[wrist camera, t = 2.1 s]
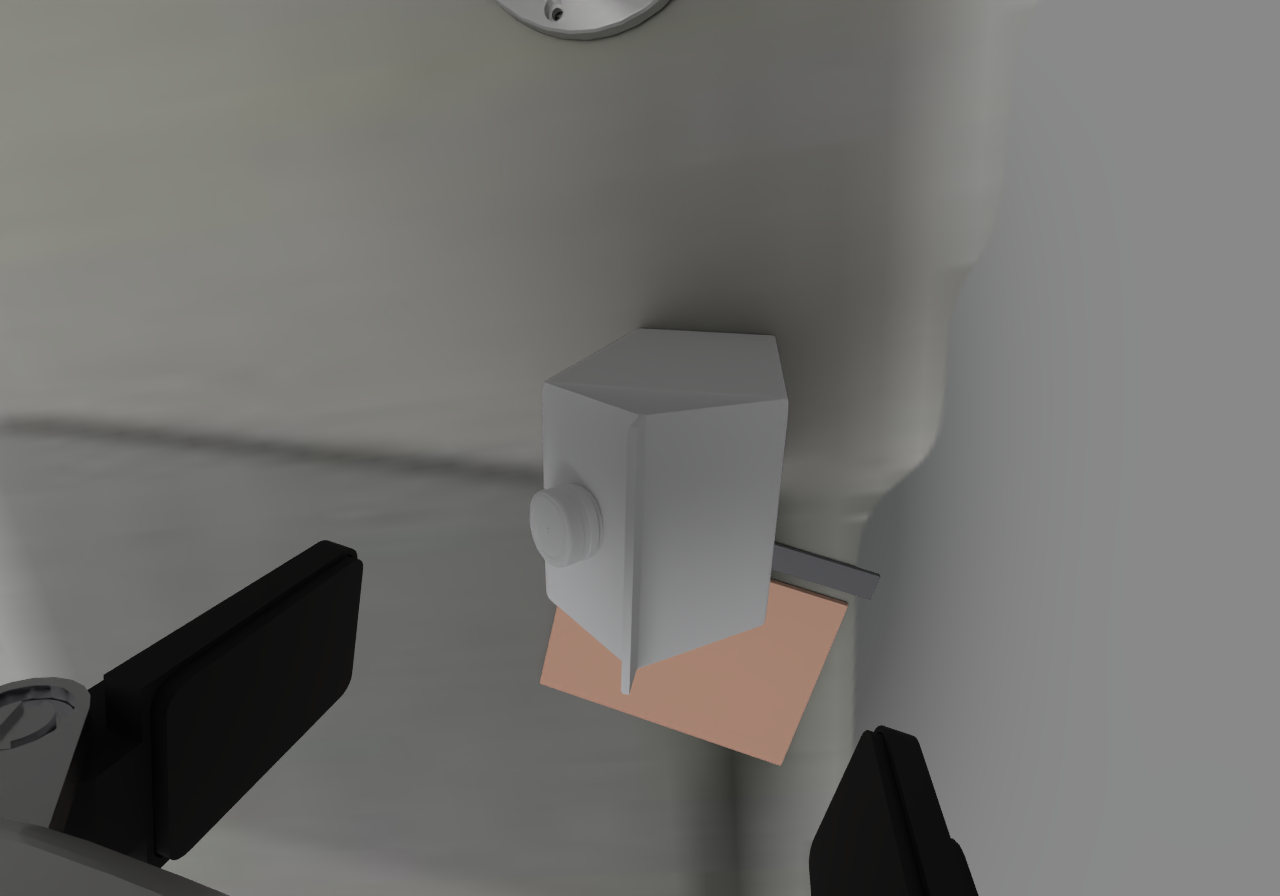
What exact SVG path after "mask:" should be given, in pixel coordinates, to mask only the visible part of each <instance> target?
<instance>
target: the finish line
mask: <svg viewBox="0 0 1280 896" xmlns="http://www.w3.org/2000/svg"><path fill="white" fill-rule="evenodd" d="M771 569H772V570H776V571H779V572H782V573H785V574H789V575H792V576H795V577H798V578H802V579H805V580H808V581H811V582H815V583H818V584H821V585H824V586H828V587H831V588H834V589H837V590H841V591H844V592H847V593H850V594H853V595H857V596H860V597H863V598H867V599H871V597H872V595H873V593H874V590H875V588H876V586H877V583H878V581H879V579H880V575H879V574H877V573H874V572H871V571H867V570H864V569H861V568H858V567H854V566H851V565H848V564H844V563H841V562H838V561H835V560H831V559H828V558H825V557H821V556H818V555H815V554H811V553H808V552H805V551H802V550H798V549H795V548H792V547H788V546H785V545H782V544H779V543H775V542H774V549H773V558H772V568H771Z"/></svg>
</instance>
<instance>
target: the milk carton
mask: <svg viewBox="0 0 1280 896" xmlns="http://www.w3.org/2000/svg"><path fill="white" fill-rule="evenodd" d="M787 419H788V397H787V393H786V388H785V383H784V378H783V373H782V368H781V363H780V358H779V354H778V349H777V344H776V339H775V336H773V335H756V334H737V333H718V332H699V331H680V330H661V329H642V328H639V329H636V330H634V331H632V332H631V333H629V334H627V335H625V336H624V337H622V338H620V339H618V340H617V341H615V342H613V343H611V344H609V345H608V346H606V347H604V348H602V349H601V350H599V351H597V352H595V353H594V354H592V355H590V356H588V357H586V358H585V359H583V360H581V361H579V362H578V363H576V364H574V365H572V366H571V367H569V368H567V369H565V370H563V371H562V372H560V373H558V374H556V375H555V376H553V377H551V378H550V379H548V380H547V381H545V382H544V384H543V469H544V490H541V491H538V492H537V493H536V494H535V495H534V496H533V498H532V501H531V505H530V526H531V532H532V536H533V539H534V542H535V545H536V547H537V549H538V551H539V552H540V554H541V555H542V557H543V558H544V559H545V570H546V589H547V595H548V598H549V599H550V600H551V601H552V602H553V603H555V604H556V605H557V606H558V607H559V608H560V609H562V610H563V611H564V612H565V613H566V614H567V615H569V616H570V617H571V618H572V619H573V620H574V621H576V622H577V623H578V624H579V625H580V626H581V627H583V628H584V629H585V630H586V631H587V632H588V633H590V634H591V635H592V636H593V637H594V638H595V639H597V640H598V641H599V642H600V643H601V644H602V645H603V646H605V647H606V648H607V649H608V650H609V651H610V652H612V653H613V654H614V655H615V656H616V657H617V658H619V659H620V660H621V661H622V670H621V692H622V694H626V695H629V693H630V690H631V687H632V683H633V680H634V677H635V673H636V670H637V669H639V668H642V667H645V666H648V665H650V664H653V663H656V662H659V661H662V660H665V659H668V658H670V657H673V656H676V655H679V654H682V653H685V652H687V651H690V650H693V649H696V648H699V647H702V646H705V645H707V644H710V643H713V642H716V641H719V640H722V639H725V638H727V637H730V636H733V635H736V634H739V633H742V632H745V631H747V630H750V629H753V628H756V627H759V626H761V625H763V624H764V622H765V618H766V612H767V604H768V595H769V586H770V577H771V568H772V558H773V549H774V540H775V531H776V522H777V512H778V503H779V494H780V485H781V476H782V466H783V457H784V448H785V439H786V429H787Z"/></svg>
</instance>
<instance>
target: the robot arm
mask: <svg viewBox="0 0 1280 896" xmlns="http://www.w3.org/2000/svg"><path fill="white" fill-rule="evenodd" d="M669 1H670V0H495V2H496V3H498V4H499V5H500V6H501V7H502V8H503V9H505V10H506V11H507V12H508V13H509V14H510V15H512V16H513V17H514V18H515V19H516V20H518V21H520V22H522V23H523V24H525V25H527V26H529V27H531V28H533V29H534V30H536V31H538V32H541V33H544V34H548V35H551V36H555V37H558V38H562V39H579V40H590V39H596V38H601V37H607V36H613V35H615V34H618V33H620V32H622V31H625V30H627V29H630V28H632V27H634V26H637V25H639V24H640V23H641V22H643V21H644V20H646V19H647V18H649V17H650V16H652V15H653V14H655V13H656V12H658V11H659V10H661V9H662V8H663V7H664V6H665V5H666V4H667V3H668V2H669ZM558 12H563V14H562V16H561V18H560V19H559V20H558V21H555V16H556V14H557V13H558ZM362 574H363V563H362V561H361V560H359V559H357V553H356V551H355V550H354V549H352V548H349V547H346V546H343V545H340V544H337V543H334V542H331V541H328V540H323V541H320V542H318V543H317V544H315V545H313V546H312V547H310V548H309V549H307V550H305V551H304V552H302V553H300V554H299V555H297V556H296V557H294V558H292V559H291V560H289V561H287V562H286V563H284V564H283V565H281V566H279V567H278V568H276V569H275V570H273V571H271V572H270V573H268V574H266V575H265V576H263V577H262V578H260V579H258V580H257V581H255V582H253V583H252V584H250V585H249V586H247V587H245V588H244V589H242V590H241V591H239V592H237V593H236V594H234V595H232V596H231V597H229V598H228V599H226V600H224V601H223V602H221V603H219V604H218V605H216V606H215V607H213V608H211V609H210V610H208V611H206V612H205V613H203V614H202V615H200V616H198V617H197V618H195V619H194V620H192V621H190V622H189V623H187V624H185V625H184V626H182V627H181V628H179V629H177V630H176V631H174V632H172V633H171V634H169V635H168V636H166V637H164V638H163V639H161V640H160V641H158V642H156V643H155V644H153V645H151V646H150V647H148V648H147V649H145V650H143V651H142V652H140V653H138V654H137V655H135V656H134V657H132V658H130V659H129V660H127V661H126V662H124V663H122V664H121V665H119V666H117V667H116V668H114V669H113V670H111V671H109V672H108V673H106V674H104V680H103V681H101V682H100V683H98V684H96V685H95V686H93V687H92V688H90V689H88V690H87V689H86V688H85V686H83V685H81V684H79V683H77V682H75V681H73V680H70V679H63V678H57V677H47V678H31V679H26V680H21V681H16V682H11V683H8V684H5V685H2V686H0V896H229V895H226V894H224V893H222V892H219V891H217V890H214V889H212V888H209V887H207V886H204V885H202V884H199V883H197V882H194V881H192V880H189V879H187V878H184V877H182V876H179V875H177V874H174V873H171V872H169V871H166V870H163V869H161V867H162V866H163V865H164V864H165V863H166V862H167V861H168V860H169V859H171V860H177V859H179V858H181V857H183V856H184V855H185V854H186V853H187V852H189V851H190V850H191V849H192V848H193V847H194V846H195V845H196V844H197V843H198V841H199V840H200V839H201V838H202V837H203V836H204V835H205V834H206V833H207V832H208V831H209V830H210V829H211V828H212V827H213V826H214V825H215V824H216V823H217V822H218V821H219V820H220V819H221V818H222V817H223V816H224V815H225V814H226V813H227V812H228V811H229V810H230V809H231V808H232V807H233V806H234V805H235V804H236V803H237V802H238V801H239V800H240V799H241V798H242V797H243V796H244V795H245V794H246V793H247V792H248V791H249V790H250V789H251V788H252V787H253V786H254V785H255V784H256V782H257V781H258V780H259V779H260V778H261V777H262V776H263V775H264V774H265V773H266V772H267V771H268V770H269V769H270V768H271V767H272V766H273V765H274V764H275V763H276V762H277V761H278V760H279V759H280V758H281V757H282V756H283V755H284V754H285V753H286V752H287V751H288V750H289V749H290V748H291V747H292V746H293V745H294V744H295V743H296V742H297V741H298V740H299V739H300V738H301V737H302V736H303V735H304V734H305V733H306V732H307V731H308V730H309V729H310V728H311V727H312V726H313V725H314V724H315V722H316V721H317V720H318V719H319V718H320V717H321V716H322V715H323V714H324V713H325V712H326V711H327V710H328V709H329V708H330V707H331V706H332V705H333V704H334V703H335V702H336V701H337V700H338V699H339V698H340V697H341V696H342V695H343V693H344V692H345V690H346V689H347V687H348V685H349V683H350V680H351V677H352V669H353V660H354V650H355V641H356V631H357V621H358V612H359V602H360V593H361V583H362ZM809 872H810V885H811V896H978V893H977V890H976V888H975V884H974V881H973V878H972V876H971V873H970V870H969V867H968V864H967V861H966V858H965V856H964V853H963V851H962V849H961V847H960V845H959V844H958V843H957V842H956V841H955V840H954V839H951V838H950V835H949V832H948V829H947V826H946V823H945V820H944V817H943V814H942V811H941V808H940V805H939V802H938V799H937V796H936V793H935V789H934V787H933V783H932V780H931V777H930V774H929V771H928V768H927V765H926V762H925V759H924V756H923V753H922V750H921V748H920V744H919V742H918V740H917V739H916V737H914V736H912V735H909V734H906V733H903V732H900V731H897V730H894V729H891V728H888V727H885V726H882V725H881V726H878V727H877V728H876V729H875V731H874V732H872V731H869V730H866V731H865V732H864V733H863V734H862V736H861V738H860V740H859V742H858V745H857V747H856V749H855V751H854V753H853V755H852V757H851V760H850V762H849V764H848V766H847V768H846V770H845V773H844V775H843V777H842V779H841V781H840V783H839V786H838V788H837V790H836V792H835V794H834V796H833V799H832V801H831V803H830V805H829V807H828V809H827V812H826V814H825V816H824V818H823V820H822V822H821V825H820V827H819V829H818V831H817V833H816V835H815V838H814V840H813V842H812V846H811V850H810V856H809Z"/></svg>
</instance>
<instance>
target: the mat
mask: <svg viewBox="0 0 1280 896" xmlns="http://www.w3.org/2000/svg"><path fill="white" fill-rule="evenodd" d="M847 607H848V605H847V602H844V601H840V600H837V599H834V598H831V597H828V596H824V595H821V594H818V593H815V592H811V591H808V590H805V589H802V588H799V587H795V586H792V585H789V584H786V583H782V582H779V581H776V580H773V579H770V586H769V595H768V604H767V612H766V618H765V622H764V624H763V625H761V626H759V627H756V628H753V629H750V630H747V631H745V632H742V633H739V634H736V635H733V636H730V637H727V638H725V639H722V640H719V641H716V642H713V643H710V644H707V645H705V646H702V647H699V648H696V649H693V650H690V651H687V652H685V653H682V654H679V655H676V656H673V657H670V658H668V659H665V660H662V661H659V662H656V663H653V664H650V665H648V666H645V667H642V668H639V669H637V670H636V673H635V677H634V680H633V683H632V687H631V690H630V693H629V695H626V694H622V692H621V670H622V661H621V660H620V659H619V658H617V657H616V656H615V655H614V654H613V653H612V652H610V651H609V650H608V649H607V648H606V647H605V646H603V645H602V644H601V643H600V642H599V641H598V640H597V639H595V638H594V637H593V636H592V635H591V634H590V633H588V632H587V631H586V630H585V629H584V628H583V627H581V626H580V625H579V624H578V623H577V622H576V621H574V620H573V619H572V618H571V617H570V616H569V615H567V614H566V613H565V612H564V611H563V610H562V609H560V608H559V607H558V606H557V610H556V614H555V618H554V623H553V627H552V632H551V636H550V640H549V645H548V649H547V654H546V658H545V662H544V667H543V671H542V675H541V680H540V684H543V685H546V686H549V687H552V688H555V689H557V690H560V691H563V692H566V693H569V694H572V695H575V696H578V697H581V698H584V699H587V700H590V701H593V702H595V703H598V704H601V705H604V706H607V707H610V708H613V709H616V710H619V711H622V712H625V713H628V714H631V715H633V716H636V717H639V718H642V719H645V720H648V721H651V722H654V723H657V724H660V725H663V726H666V727H669V728H671V729H674V730H677V731H680V732H683V733H686V734H689V735H692V736H695V737H698V738H701V739H704V740H707V741H709V742H712V743H715V744H718V745H721V746H724V747H727V748H730V749H733V750H736V751H739V752H742V753H745V754H748V755H750V756H753V757H756V758H759V759H762V760H765V761H768V762H771V763H774V764H777V765H780V766H781V764H782V762H783V760H784V757H785V755H786V752H787V750H788V748H789V745H790V743H791V741H792V738H793V736H794V733H795V731H796V729H797V726H798V724H799V722H800V719H801V717H802V714H803V712H804V710H805V707H806V705H807V703H808V700H809V698H810V695H811V693H812V691H813V688H814V686H815V683H816V681H817V679H818V676H819V674H820V672H821V669H822V667H823V664H824V662H825V660H826V657H827V655H828V653H829V650H830V648H831V645H832V643H833V641H834V638H835V636H836V634H837V631H838V629H839V626H840V624H841V622H842V619H843V617H844V615H845V612H846V610H847Z"/></svg>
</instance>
